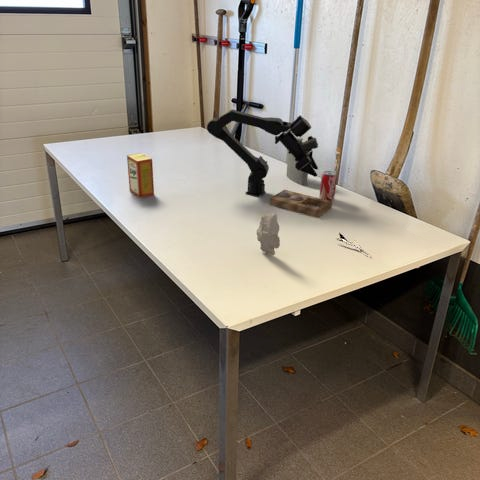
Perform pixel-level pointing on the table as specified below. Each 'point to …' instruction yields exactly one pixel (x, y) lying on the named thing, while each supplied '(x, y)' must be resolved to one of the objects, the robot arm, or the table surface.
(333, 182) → the soda can
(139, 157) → the baking soda box
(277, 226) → the grey figurine
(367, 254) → the toy airplane
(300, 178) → the hip flask
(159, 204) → the table surface
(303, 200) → the wooden tray
